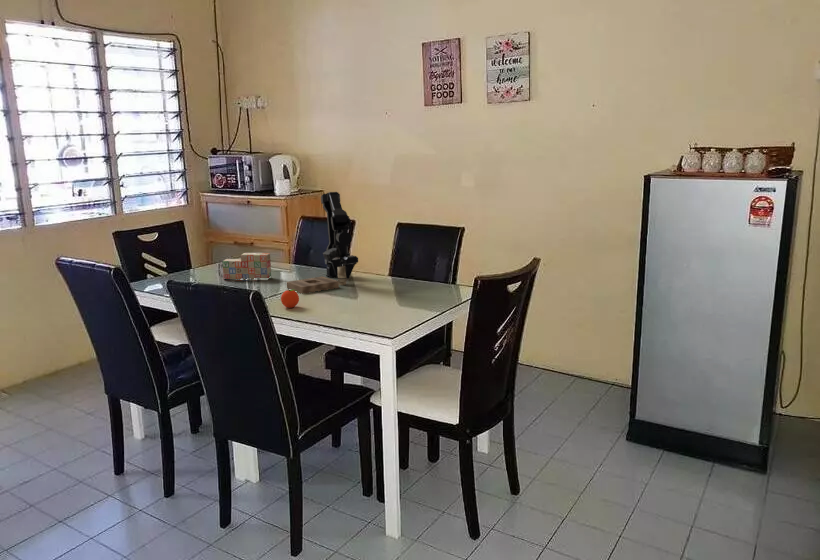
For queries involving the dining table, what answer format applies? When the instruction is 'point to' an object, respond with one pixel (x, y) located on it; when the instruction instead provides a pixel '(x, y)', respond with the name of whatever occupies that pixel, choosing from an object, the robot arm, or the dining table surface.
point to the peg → (342, 275)
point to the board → (313, 284)
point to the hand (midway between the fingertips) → (342, 276)
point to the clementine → (290, 298)
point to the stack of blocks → (248, 266)
